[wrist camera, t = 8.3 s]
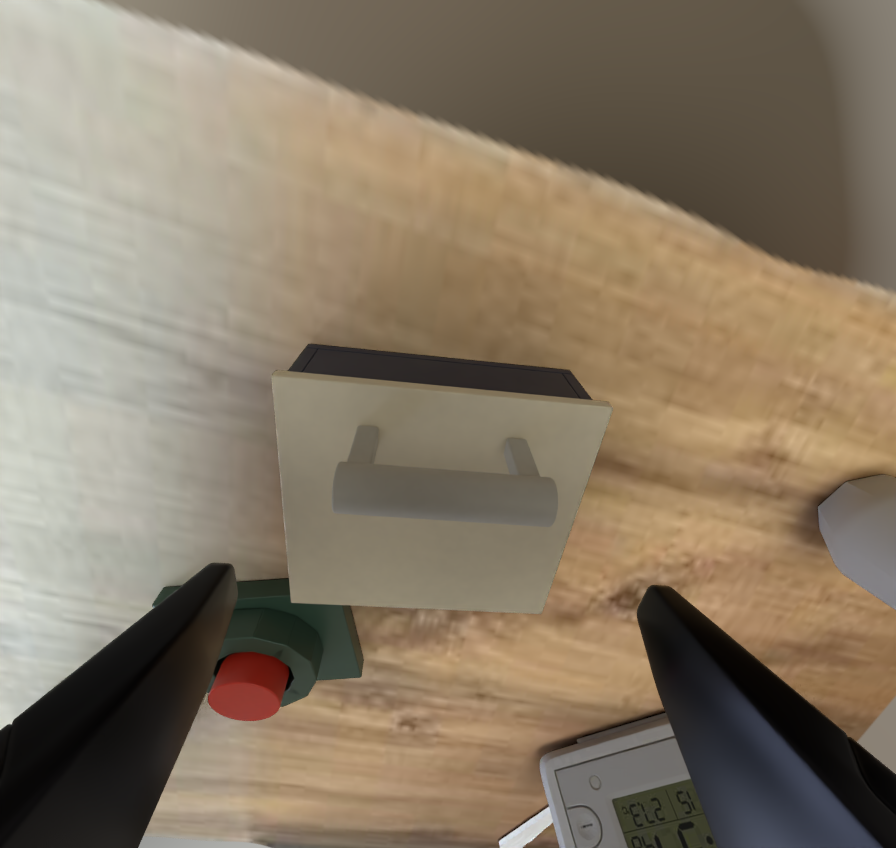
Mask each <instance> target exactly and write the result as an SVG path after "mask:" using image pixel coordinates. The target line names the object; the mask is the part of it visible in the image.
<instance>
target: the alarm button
mask: <svg viewBox="0 0 896 848" xmlns="http://www.w3.org/2000/svg"><path fill="white" fill-rule="evenodd" d="M288 677H289V668H288V666H287V665H286V664H284V663H283V662H281V661H280V660H278V659H277V658H275V657H273V656H269V655H265V654H261V653H257V652H240V653H233V654H231V655H229V656H228V657H226V658H225V659H224V661H223V662H222V664H221V667H220V669H219V671H218V673H217V676H216V678H215V680H214V683H213V685H212V687H211V690H210V692H209V694H208V703H209V705H210V706H211V708H212V709H213V710H215V711H216V712H217V713H219V714H221V715H223V716H225V717H228V718H231V719H235V720H242V721H256V720H262V719H266V718H268V717H271V716H272V715H274V714H275V713H276V712H277V711H278V710H279V708H280V705H281V702H282V698H283V695H284V691H285V688H286V684H287V681H288Z"/></svg>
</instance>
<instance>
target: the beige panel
mask: <svg viewBox="0 0 896 848" xmlns="http://www.w3.org/2000/svg"><path fill="white" fill-rule="evenodd" d="M271 378H272V390H273V401H274V413H275V424H276V436H277V447H278V459H279V470H280V481H281V493H282V504H283V516H284V527H285V539H286V550H287V562H288V573H289V585H290V596H291V603H306V604H329V605H351V606H374V607H396V608H419V609H441V610H464V611H486V612H509V613H531V614H542V611H543V608H544V605H545V602H546V599H547V597H548V594H549V591H550V588H551V585H552V582H553V579H554V577H555V574H556V571H557V568H558V565H559V562H560V559H561V557H562V554H563V551H564V548H565V545H566V542H567V539H568V537H569V534H570V531H571V528H572V525H573V522H574V519H575V517H576V514H577V511H578V508H579V505H580V502H581V499H582V497H583V494H584V491H585V488H586V485H587V482H588V479H589V477H590V474H591V471H592V468H593V465H594V462H595V459H596V457H597V454H598V451H599V448H600V445H601V442H602V439H603V436H604V434H605V431H606V428H607V425H608V422H609V419H610V416H611V414H612V411H613V407H612V405H611V404H610V403H609V402H607V401H597V400H586V399H576V398H565V397H555V396H544V395H534V394H523V393H513V392H502V391H492V390H481V389H471V388H460V387H450V386H439V385H429V384H418V383H408V382H397V381H386V380H376V379H365V378H355V377H344V376H334V375H323V374H313V373H302V372H292V371H281V370H276V371H275V372H274V373H273V374H272V376H271Z"/></svg>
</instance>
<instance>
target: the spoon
mask: <svg viewBox="0 0 896 848" xmlns="http://www.w3.org/2000/svg"><path fill="white" fill-rule="evenodd" d="M552 822H553V820H552V816H551V812H550V808H549V807H547V808H546V809H544V810H543V811H541V812H540V813H539V814H537V815H536V816H534V817H533V818H531V819H530V820H529V821H527V822H526V823H524V824H523V825H521V826H520V827H518V828H517V829H515V830H514V831H513V832H511V833H510V834H509V835H507V836H506V837H504V838H503V839H501V840H500V841H499V846H500V848H523V846H525V844H526V843H529V841H531V840H533V838H535V837H536V836H537V835H538V834H541V833H540V832H543V831H542V830H544V829H545V828H547V826H550V824H551V823H552Z"/></svg>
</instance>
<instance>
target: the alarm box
mask: <svg viewBox="0 0 896 848" xmlns="http://www.w3.org/2000/svg"><path fill="white" fill-rule="evenodd" d="M236 583H237V588H238V597H237V602H236V605H235V608H234V611H233V614H232V618H231V621H230V624H229V627H228V630H227V633H226V636H225V639H224V643H223V646H222V649H221V652H220V655H219V658H218V661H217V664H216V667H215V670H214V673H213V676H212V679H211V681H210V684H209V686H208V689H207V691H206V692H207V693H209V692H210V690H211V687H212V685H213V683H214V680H215V678H216V676H217V673H218V671H219V669H220V667H221V664H222V662H223V661H224V659H225V658H226V657H228V656H229V655H231V654H233V653H240V652H257V653H261V654H265V655H269V656H273V657H275V658H277V659H278V660H280V661H281V662H283V663H284V664H286V665H287V666H288V668H289V677H288V681H287V684H286V688H285V691H284V695H283V698H282V702H281V705H280V707H283V706H286V705H288V704H291V703H293V702H295V701H297V700H299V699H302V698H304V697H306V696H307V695H308V694H309V692H310V691H311V689H312V687H313V686H314V684H315V682H316V681H318V680H332V679H346V678H360V677H361V676H362V669H363V661H364V659H363V655H362V651H361V647H360V643H359V639H358V635H357V631H356V627H355V623H354V620H353V616H352V612H351V608H350V605H329V604H306V603H291V596H290V585H289V579H277V580H262V581H248V582H236ZM180 587H181V586H176V587H164V588H163V589H162V591H161V592H160V594H159V595H158V597H157V598H156V600H155V601H154V603H153V604H152V606H153V608H155V607H156V606H157V605H158V604H160V603H161V602H162V601H163V600H165V599H166V598H167V597H168V596H170V595H171V594H172V593H173V592H175V591H176V590H177V589H178V588H180Z"/></svg>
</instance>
